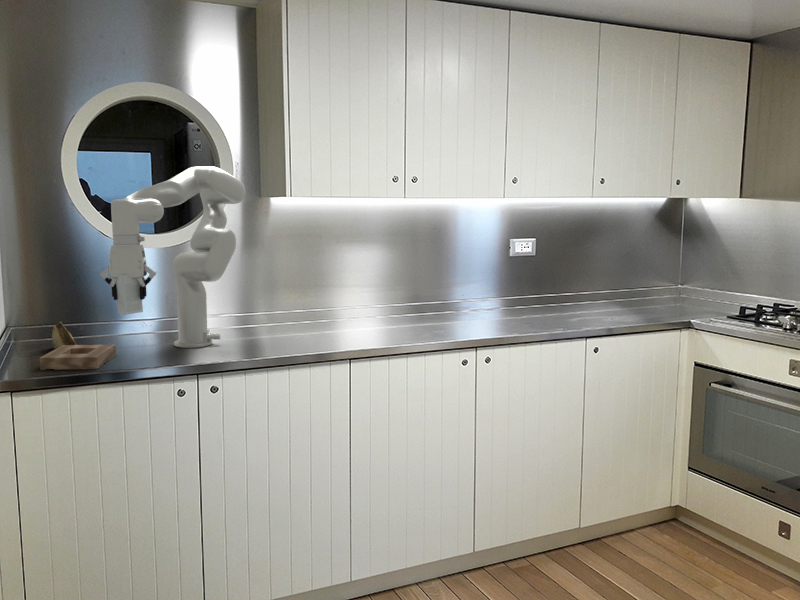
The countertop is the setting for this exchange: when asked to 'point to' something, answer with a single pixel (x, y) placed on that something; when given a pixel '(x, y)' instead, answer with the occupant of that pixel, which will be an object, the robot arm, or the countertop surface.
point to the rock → (61, 336)
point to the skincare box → (128, 295)
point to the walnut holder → (78, 357)
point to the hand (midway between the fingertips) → (129, 298)
